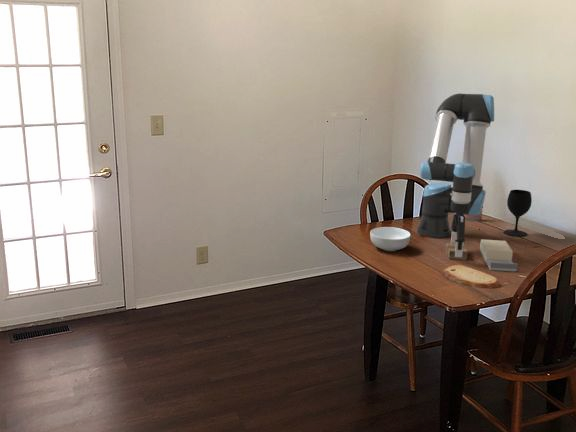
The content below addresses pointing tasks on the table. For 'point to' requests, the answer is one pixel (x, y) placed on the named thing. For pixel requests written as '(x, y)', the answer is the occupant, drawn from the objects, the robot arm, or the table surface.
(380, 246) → the cereal bowl
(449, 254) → the tan brown block
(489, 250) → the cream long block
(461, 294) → the table surface
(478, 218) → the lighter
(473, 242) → the table surface
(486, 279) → the bread slice
